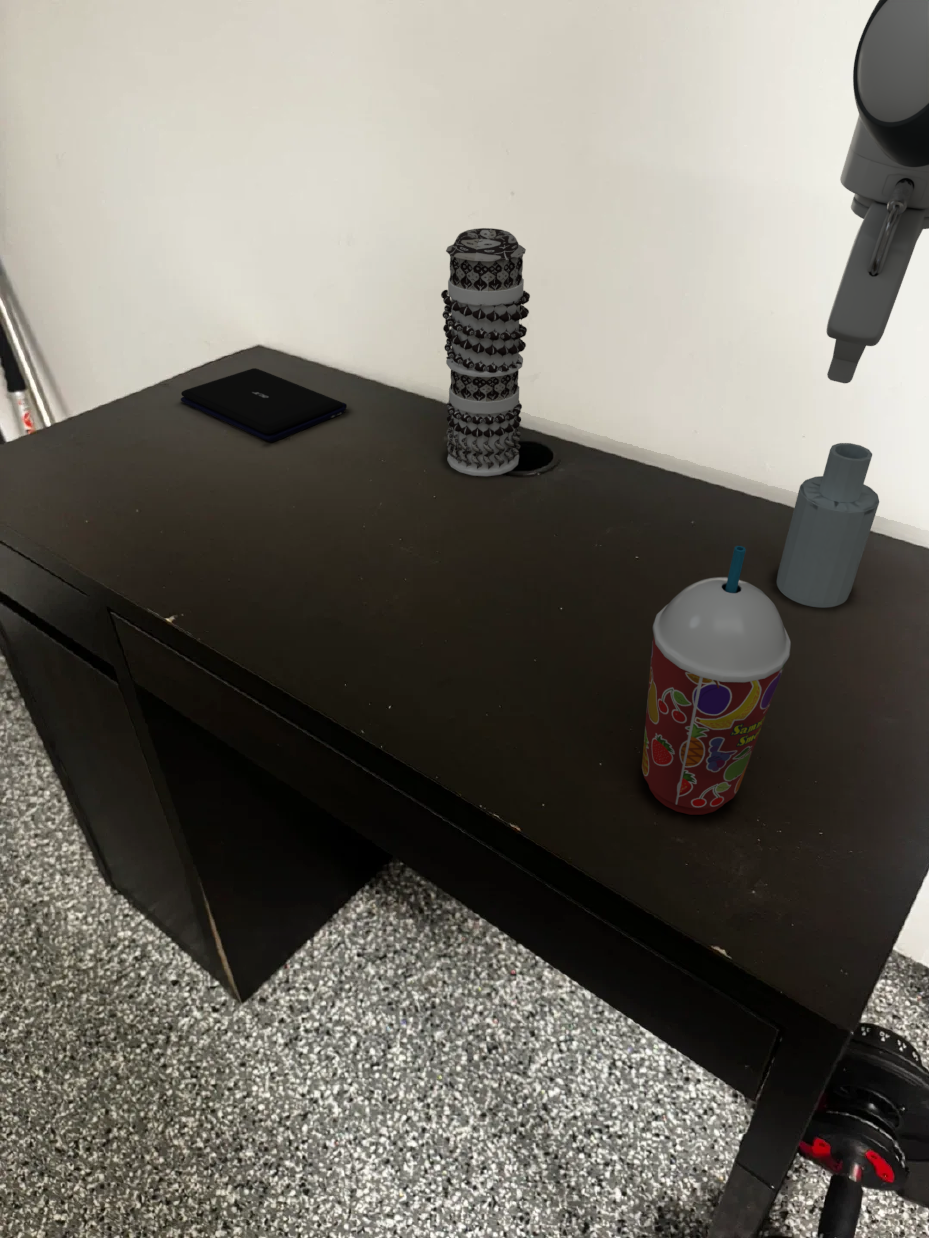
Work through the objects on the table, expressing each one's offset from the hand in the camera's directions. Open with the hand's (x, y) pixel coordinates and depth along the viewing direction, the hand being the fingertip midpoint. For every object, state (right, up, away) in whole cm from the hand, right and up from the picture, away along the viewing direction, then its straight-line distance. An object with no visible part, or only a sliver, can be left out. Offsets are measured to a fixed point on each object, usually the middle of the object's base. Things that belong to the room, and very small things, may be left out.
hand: (848, 353), depth 70 cm
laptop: (-56, +7, +46) cm, 73 cm away
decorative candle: (-28, -2, +35) cm, 45 cm away
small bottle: (+2, -18, +14) cm, 23 cm away
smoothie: (-14, -33, -6) cm, 36 cm away
